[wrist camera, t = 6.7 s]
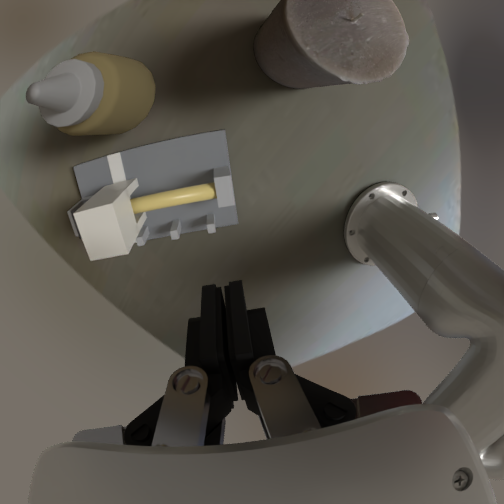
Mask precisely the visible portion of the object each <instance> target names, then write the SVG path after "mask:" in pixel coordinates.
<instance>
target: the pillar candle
mask: <svg viewBox="0 0 504 504" xmlns="http://www.w3.org/2000/svg"><path fill="white" fill-rule="evenodd" d="M407 46H409V37H408V34H407V33H406V29H405V25H404V21H403V19H402V16H401V14H400V12H399V10H398V8H397V7H396V5H395V4H394V2H393V1H392V0H281V1H280V2H279V3H278V4H277V6H276V7H275V8H274V10H273V11H272V13H271V14H270V16H269V17H268V18H267V19H266V21H265V22H264V24H263V25H262V26H261V27H260V29H259V32H258V33H257V34H256V36H255V39H254V54H255V57H256V60H257V62H258V64H259V66H260V68H261V69H262V70H263V72H264V73H265V74H266V75H267V76H268V77H270V78H271V79H272V80H274V81H275V82H277V83H279V84H281V85H284V86H287V87H291V88H298V89H301V88H312V87H322V86H330V85H340V84H351V83H353V84H362V83H365V84H367V83H371V82H380V81H382V79H384V78H388V77H390V76H391V75H392V74H393V73H394V72H395V71H396V69H397V68H399V67H400V65H401V63H402V61H403V59H404V57H405V54H406V49H407Z"/></svg>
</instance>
